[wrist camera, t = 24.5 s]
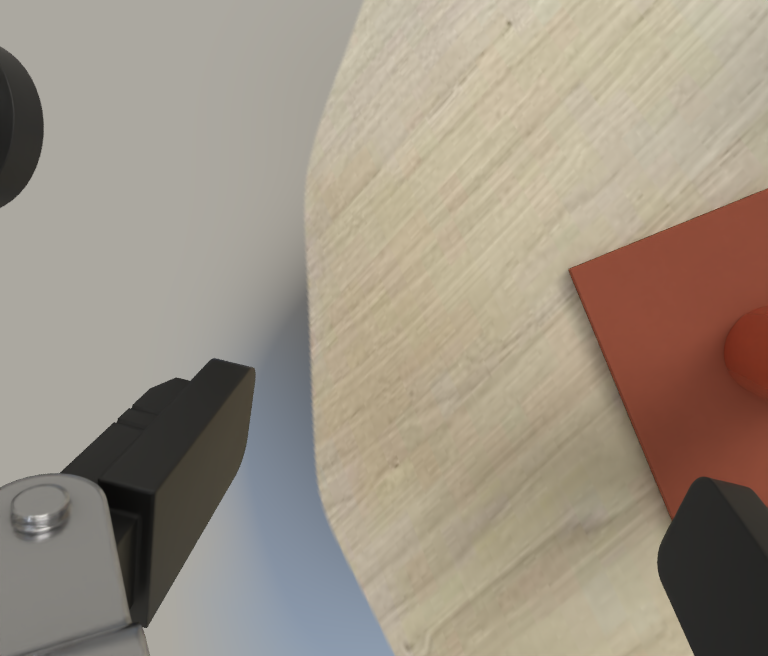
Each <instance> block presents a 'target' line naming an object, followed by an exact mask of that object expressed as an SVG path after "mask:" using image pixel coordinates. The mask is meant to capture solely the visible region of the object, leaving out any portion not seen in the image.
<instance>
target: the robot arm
mask: <svg viewBox="0 0 768 656" xmlns="http://www.w3.org/2000/svg"><path fill="white" fill-rule="evenodd" d="M254 385H255V369H254V368H253V367H249V366H244V365H240V364H236V363H232V362H228V361H224V360H220V359H215V358H214V359H211V360H210V361H209V362H208V363H207V364H206V365H205V366H204V367H203V369H201V370H200V371H199V372H198V374H197V375H196V376H195V377H194V378H193V379H192V380H191V381H188V380H184V379H180V378H174V379H172V380H169V381H167V382H165V383H162V384H160V385H157V386H155V387H153V388H150V389H149V390H148V391H147V392H146V393H145V394H144V395H143V396H142V397H141V398H140V399H138V400H137V401H136V402H135V403H134V404H133V406H132V408H131V409H130V408H129V409H128V410H127V411H126V412H125V413H123V414H122V415H121V416H120V417H119V418H118V421H117V423H115V422H114V423H113V424H112V425H111V426H110V427H108V428H107V429H106V430H105V431H104V432H103V433H102V434H101V435H100V436H99V437H98V438H97V439H96V440H95V441H94V442H93V443H91V444H90V445H89V446H88V447H87V448H86V449H85V450H84V451H83V452H82V453H81V454H80V455H79V456H78V457H76V458H75V459H74V460H73V461H72V462H71V463H70V464H69V465H68V466H67V467H66V468H65V469H64V470H63V471H62V472H60V473H55V474H41V475H35V476H30V477H26V478H23V479H19V480H16V481H13V482H11V483H8V484H6V485H4V486H2V487H0V656H150V654H149V650H148V645H147V641H146V637H145V634H144V631H143V628H142V627H144V628H147V627H148V625H149V623H150V622H151V620H152V618H153V617H154V615H155V613H156V611H157V610H158V608H159V606H160V605H161V603H162V601H163V599H164V598H165V596H166V594H167V593H168V591H169V589H170V587H171V586H172V584H173V582H174V580H175V579H176V577H177V575H178V574H179V572H180V570H181V569H182V567H183V565H184V563H185V562H186V560H187V558H188V556H189V555H190V553H191V551H192V549H193V548H194V546H195V544H196V543H197V540H198V539H199V538H200V536H201V534H202V532H203V530H204V529H205V527H206V526H207V524H208V522H209V520H210V519H211V517H212V515H213V513H214V512H215V510H216V508H217V506H218V505H219V503H220V501H221V500H222V498H223V496H224V494H225V493H226V491H227V489H228V488H229V486H230V484H231V483H232V480H233V479H234V477H235V476H236V474H237V471H238V469H239V467H240V465H241V462H242V459H243V456H244V452H245V448H246V443H247V438H248V430H249V423H250V415H251V408H252V401H253V393H254ZM657 565H658V573H659V577H660V580H661V582H662V585H663V587H664V589H665V591H666V593H667V596H668V598H669V600H670V602H671V605H672V607H673V609H674V611H675V613H676V616H677V618H678V620H679V622H680V625H681V627H682V629H683V631H684V633H685V636H686V638H687V640H688V642H689V645H690V647H691V649H692V651H693V653H694V656H768V508H767V507H766V505H765V504H764V503H763V502H762V500H761V499H760V498H759V497H758V495H757V494H756V493H755V492H754V491H753V490H752V489H751V488H749V487H746V486H742V485H738V484H734V483H730V482H726V481H721V480H717V479H713V478H709V477H699V478H697V479H696V480H695V481H694V482H693V483H692V484H691V486H690V487H689V489H688V491H687V493H686V495H685V497H684V499H683V501H682V503H681V505H680V507H679V509H678V510H677V512H676V514H675V516H674V518H673V520H672V522H671V524H670V526H669V528H668V530H667V532H666V534H665V536H664V538H663V539H662V542H661V544H660V547H659V551H658V560H657Z"/></svg>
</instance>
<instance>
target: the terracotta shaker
mask: <svg viewBox="0 0 768 656" xmlns="http://www.w3.org/2000/svg"><path fill="white" fill-rule="evenodd" d="M724 359H725V364H726V367H727V370H728V372H729V374H730V375H731V377H732V378H733V380H734V381H735V382H736V383H737V384H738V385H739V386H740V387H742V388H743V389H744V390H746V391H748V392H749V393H751V394H754V395H756V396H758V397H760V398H762V399H764V400H766V401H768V305H767V306H763V307H760V308H757V309H755V310H752V311H750V312H749V313H747V314H746V315H744V316H743V317H741V318H740V319H739V320H738V321H737V322H736V323H735V325H734V326H733V327H732V329H731V330H730V332H729V334H728V336H727V338H726V342H725V346H724Z"/></svg>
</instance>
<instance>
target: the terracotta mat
mask: <svg viewBox="0 0 768 656" xmlns="http://www.w3.org/2000/svg"><path fill="white" fill-rule="evenodd" d="M569 273H570V275H571V278H572V280H573V282H574V285H575V287H576V290H577V292H578V295H579V297H580V299H581V302H582V304H583V307H584V309H585V312H586V314H587V316H588V319H589V321H590V324H591V326H592V328H593V331H594V333H595V336H596V338H597V341H598V343H599V345H600V348H601V350H602V353H603V355H604V357H605V360H606V362H607V365H608V367H609V370H610V372H611V374H612V377H613V379H614V382H615V384H616V386H617V389H618V391H619V394H620V396H621V399H622V401H623V403H624V406H625V408H626V411H627V413H628V415H629V418H630V420H631V423H632V425H633V428H634V430H635V432H636V435H637V437H638V440H639V442H640V445H641V447H642V449H643V452H644V454H645V457H646V459H647V461H648V464H649V466H650V469H651V471H652V474H653V476H654V478H655V481H656V483H657V486H658V488H659V490H660V493H661V495H662V498H663V500H664V503H665V505H666V507H667V510H668V512H669V515H670V517H671V519H672V520H673V518H674V516H675V514H676V512H677V510H678V509H679V507H680V505H681V503H682V501H683V499H684V497H685V495H686V493H687V491H688V489H689V487H690V486H691V484H692V483H693V482H694V481H695V480H696V479H697V478H699V477H709V478H713V479H717V480H721V481H726V482H730V483H734V484H738V485H742V486H746V487H749V488H751V489H752V490H753V491H754V492H755V493H756V494H757V495H758V497H759V498H760V499H761V500H762V502H763V503H764V504H765V505H766V507H767V508H768V401H766V400H764V399H762V398H760V397H758V396H756V395H754V394H751V393H749V392H748V391H746V390H744V389H743V388H742V387H740V386H739V385H738V384H737V383H736V382H735V381H734V380H733V378H732V377H731V375H730V374H729V372H728V370H727V367H726V364H725V359H724V346H725V342H726V338H727V336H728V334H729V332H730V330H731V329H732V327H733V326H734V325H735V323H736V322H737V321H738V320H739V319H740V318H741V317H743V316H744V315H746V314H747V313H749V312H750V311H752V310H755V309H757V308H760V307H763V306H767V305H768V189H765V190H763V191H760V192H758V193H755V194H753V195H750V196H748V197H745V198H743V199H740V200H738V201H735V202H733V203H731V204H728V205H726V206H723V207H721V208H718V209H716V210H713V211H711V212H708V213H706V214H703V215H701V216H698V217H696V218H693V219H691V220H688V221H686V222H684V223H681V224H679V225H676V226H674V227H671V228H669V229H666V230H664V231H661V232H659V233H656V234H654V235H651V236H649V237H646V238H644V239H642V240H639V241H637V242H634V243H632V244H629V245H627V246H624V247H622V248H619V249H617V250H614V251H612V252H609V253H607V254H604V255H602V256H600V257H597V258H595V259H592V260H590V261H587V262H585V263H582V264H580V265H577V266H575V267H572V268H570V269H569Z"/></svg>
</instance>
